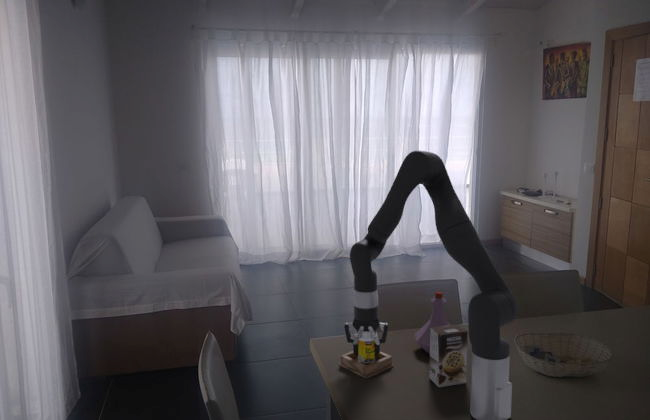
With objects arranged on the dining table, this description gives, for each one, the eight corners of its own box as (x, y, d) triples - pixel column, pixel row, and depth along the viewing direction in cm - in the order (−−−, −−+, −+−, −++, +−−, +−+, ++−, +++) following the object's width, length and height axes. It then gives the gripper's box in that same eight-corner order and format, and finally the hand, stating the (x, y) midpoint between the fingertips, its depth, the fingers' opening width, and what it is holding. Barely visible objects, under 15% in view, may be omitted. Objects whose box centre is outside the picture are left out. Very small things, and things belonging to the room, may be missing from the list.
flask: (473, 355, 167) (475, 296, 164) (430, 364, 161) (431, 304, 158) (444, 336, 182) (445, 282, 179) (404, 344, 176) (404, 288, 173)
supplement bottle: (365, 366, 157) (364, 334, 155) (354, 359, 162) (353, 328, 160) (379, 361, 160) (378, 330, 158) (368, 354, 165) (367, 324, 163)
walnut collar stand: (393, 366, 160) (393, 356, 160) (366, 378, 153) (366, 368, 152) (366, 354, 170) (366, 344, 169) (339, 365, 162) (339, 355, 161)
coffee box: (438, 388, 147) (439, 335, 144) (428, 377, 153) (429, 326, 150) (467, 383, 149) (468, 331, 146) (455, 373, 155) (457, 323, 152)
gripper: (388, 299, 161) (389, 349, 164) (343, 299, 162) (344, 349, 165) (389, 307, 153) (390, 360, 156) (342, 307, 155) (343, 359, 157)
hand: (366, 354), depth 160 cm, fingers closed on supplement bottle, 5 cm apart
